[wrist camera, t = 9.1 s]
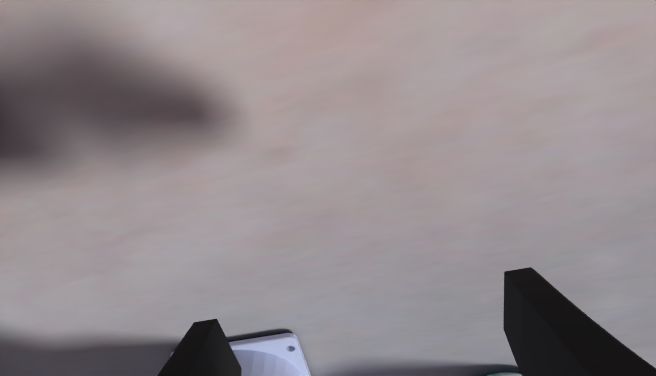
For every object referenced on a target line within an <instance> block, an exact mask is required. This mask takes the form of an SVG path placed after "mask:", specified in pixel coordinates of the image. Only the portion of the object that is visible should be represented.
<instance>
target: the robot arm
mask: <svg viewBox="0 0 656 376" xmlns="http://www.w3.org/2000/svg"><path fill="white" fill-rule="evenodd" d="M504 331H505V334H506V337H507V339H508V342H509V345H510V347H511V350H512V353H513V355H514V358H515V360H516V363H517V365H518V368H519V370H520V372H521V374H522V376H656V368H654V367H653V366H652V365H650V364H649V363H648V362H646V361H645V360H643V359H642V358H641V357H639V356H638V355H637V354H635V353H634V352H633V351H631V350H630V349H629V348H627V347H626V346H625V345H624V344H622V343H621V342H620V341H618V340H617V339H616V338H615V337H613V336H612V335H611V334H610V333H608V332H607V331H606V330H605V329H603V328H602V327H601V326H600V325H598V324H597V323H596V322H594V321H593V320H592V319H591V318H590V317H588V316H587V315H586V314H585V313H584V312H582V311H581V310H580V309H579V308H578V307H576V306H575V305H574V304H573V303H572V302H571V301H569V300H568V299H567V298H566V297H565V296H564V295H562V294H561V293H560V292H559V291H558V290H557V289H555V288H554V287H553V286H552V285H551V284H550V283H549V282H548V281H546V280H545V279H544V278H543V277H542V276H541V275H540V274H539V273H537V272H536V271H535V270H534V269H532V268H531V267H530V268H524V269H518V270H512V271H506V272H504ZM158 376H311V374H310V371H309V368H308V366H307V363H306V360H305V358H304V355H303V352H302V349H301V347H300V344H299V341H298V339H297V337H296V335H294V334H292V333H284V334H277V335H271V336H265V337H258V338H252V339H246V340H239V341H233V342H228V340H227V338H226V336H225V334H224V332H223V330H222V328H221V326H220V324H219V322H218V320H217V319H212V320H206V321H200V322H194V323H193V325H192V326H191V328H190V329H189V331H188V332H187V333H186V335H185V336H184V338H183V339H182V341H181V342H180V343H179V345H178V346H177V348H176V349H175V351H173V352H172V353H171V354H170V357H169V360H168V361H167V363H166V364H165V366H164V367H163V368H162V370H161V371H160V373H159V374H158Z"/></svg>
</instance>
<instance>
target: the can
mask: <svg viewBox="0 0 656 376" xmlns="http://www.w3.org/2000/svg"><path fill="white" fill-rule="evenodd" d="M487 376H522V374H520V373H513V372H502V373H495V374H490V375H487Z"/></svg>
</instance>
